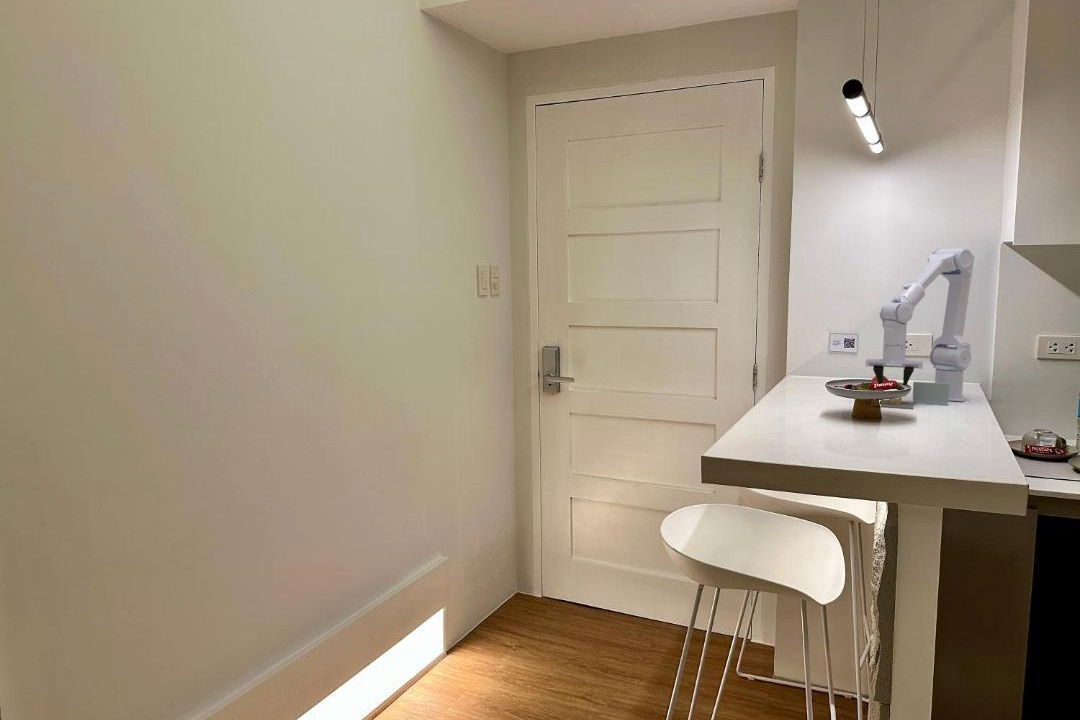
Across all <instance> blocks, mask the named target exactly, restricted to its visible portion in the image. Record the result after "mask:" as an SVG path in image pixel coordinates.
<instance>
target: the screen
mask: <svg viewBox="0 0 1080 720" xmlns="http://www.w3.org/2000/svg"><path fill="white" fill-rule="evenodd" d="M912 383H913V384H912V400H911V402H914V404H916V403H924V404H923V405H932V404H937V405H936V406H949V401H948V396H949V383H935V382H927V381H926V382H925V381H913V382H912Z"/></svg>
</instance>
